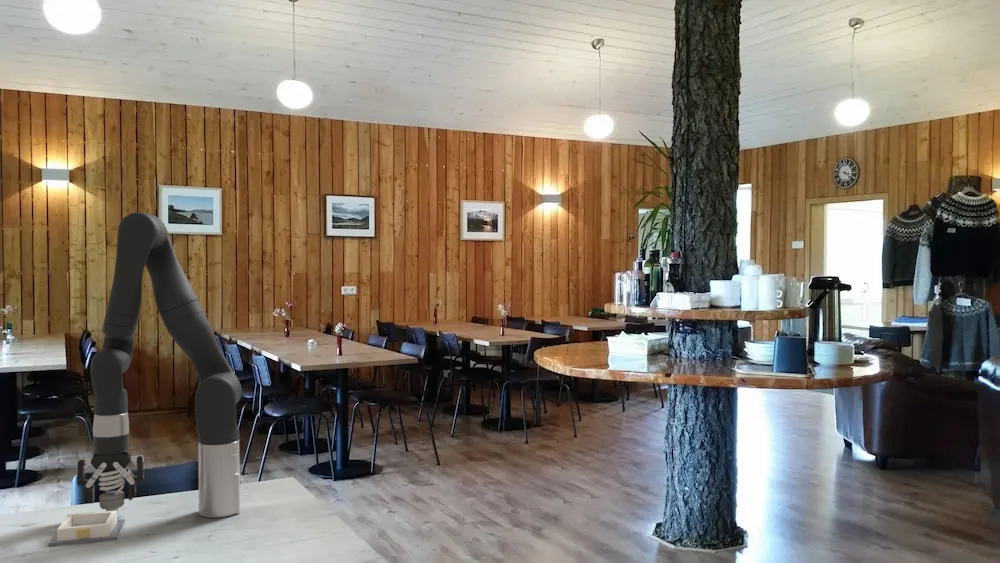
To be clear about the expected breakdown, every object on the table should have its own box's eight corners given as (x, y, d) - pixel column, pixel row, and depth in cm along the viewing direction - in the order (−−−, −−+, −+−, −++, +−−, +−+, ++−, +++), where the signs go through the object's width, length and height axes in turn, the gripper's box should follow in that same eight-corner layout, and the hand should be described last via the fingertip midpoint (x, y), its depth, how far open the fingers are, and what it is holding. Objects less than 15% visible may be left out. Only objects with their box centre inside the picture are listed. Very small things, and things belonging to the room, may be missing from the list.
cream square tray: (117, 521, 176) (117, 510, 176) (108, 536, 166) (108, 525, 166) (68, 525, 173) (68, 514, 173) (56, 541, 163) (56, 530, 163)
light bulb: (130, 513, 183) (130, 463, 183) (112, 521, 178) (111, 469, 178) (112, 511, 185) (111, 461, 185) (93, 518, 180) (92, 467, 180)
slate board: (125, 521, 178) (125, 519, 178) (116, 539, 166) (116, 537, 166) (61, 527, 174) (61, 524, 174) (48, 546, 163) (48, 543, 163)
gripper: (146, 427, 187) (146, 493, 187) (80, 430, 182) (81, 498, 183) (142, 433, 180) (142, 503, 180) (73, 437, 175) (73, 508, 176)
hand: (111, 500), depth 182 cm, fingers open, 8 cm apart
